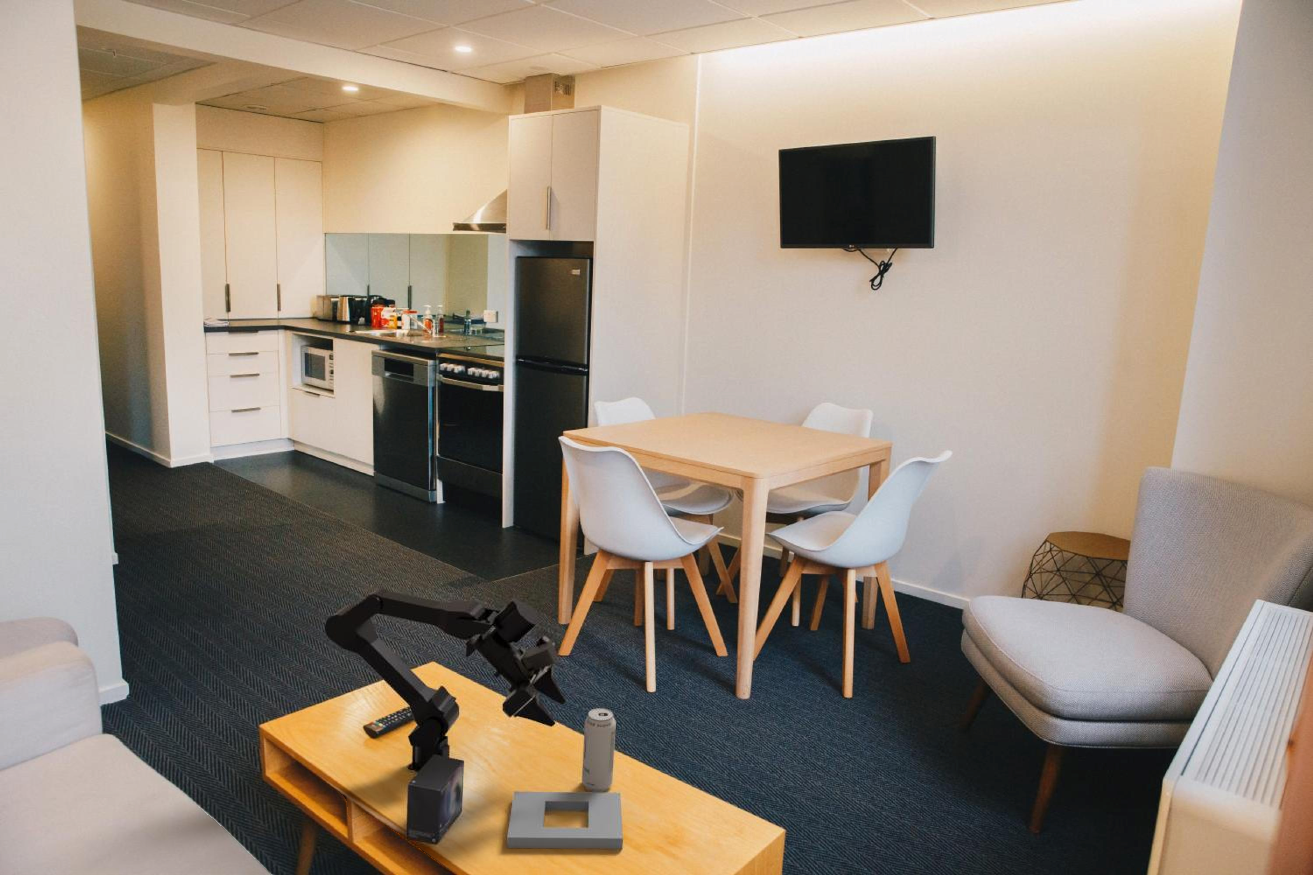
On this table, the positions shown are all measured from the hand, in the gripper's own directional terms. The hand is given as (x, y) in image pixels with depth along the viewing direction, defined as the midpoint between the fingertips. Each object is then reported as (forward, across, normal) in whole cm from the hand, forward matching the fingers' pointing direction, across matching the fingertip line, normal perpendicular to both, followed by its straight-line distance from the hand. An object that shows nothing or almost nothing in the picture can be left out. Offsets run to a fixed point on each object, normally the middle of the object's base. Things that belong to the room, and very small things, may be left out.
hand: (559, 713), depth 170 cm
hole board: (+13, -13, +7) cm, 20 cm away
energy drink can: (+16, 0, +5) cm, 17 cm away
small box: (-3, -18, +23) cm, 29 cm away
